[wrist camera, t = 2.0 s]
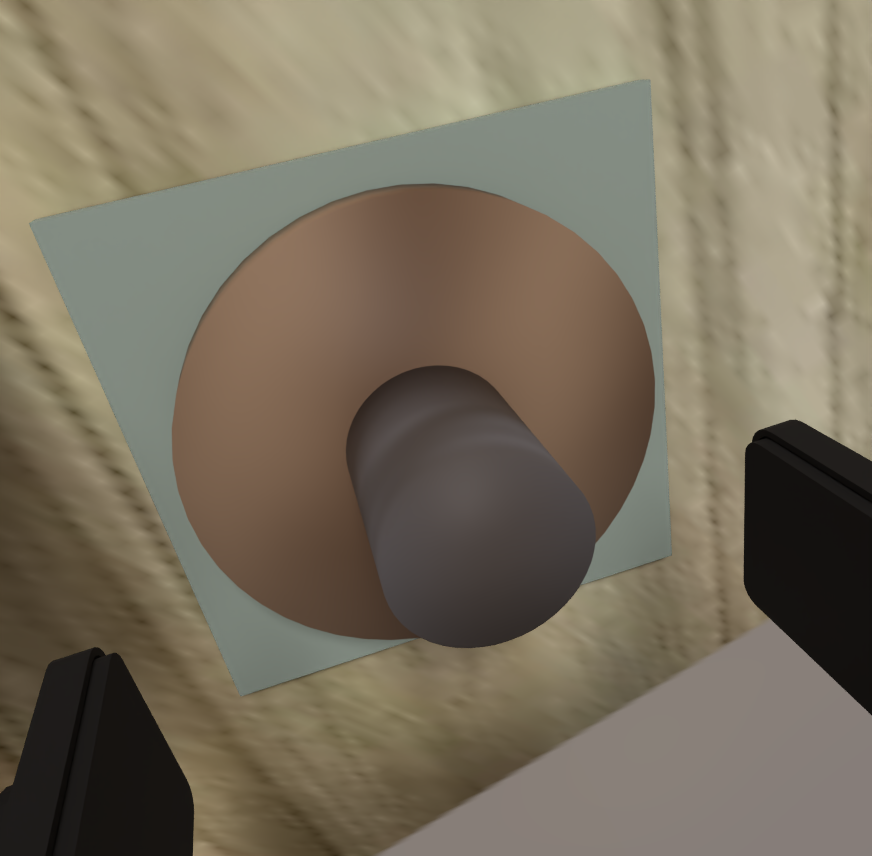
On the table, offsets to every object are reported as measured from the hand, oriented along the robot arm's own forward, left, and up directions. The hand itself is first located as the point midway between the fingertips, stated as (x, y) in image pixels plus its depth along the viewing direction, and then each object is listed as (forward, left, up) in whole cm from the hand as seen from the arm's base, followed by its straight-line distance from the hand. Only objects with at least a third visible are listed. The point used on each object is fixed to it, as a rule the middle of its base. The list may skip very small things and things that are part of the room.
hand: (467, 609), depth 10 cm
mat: (-1, 0, -6) cm, 6 cm away
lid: (-1, 0, -6) cm, 6 cm away
